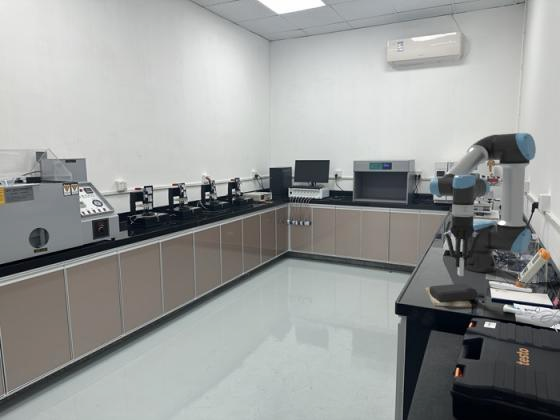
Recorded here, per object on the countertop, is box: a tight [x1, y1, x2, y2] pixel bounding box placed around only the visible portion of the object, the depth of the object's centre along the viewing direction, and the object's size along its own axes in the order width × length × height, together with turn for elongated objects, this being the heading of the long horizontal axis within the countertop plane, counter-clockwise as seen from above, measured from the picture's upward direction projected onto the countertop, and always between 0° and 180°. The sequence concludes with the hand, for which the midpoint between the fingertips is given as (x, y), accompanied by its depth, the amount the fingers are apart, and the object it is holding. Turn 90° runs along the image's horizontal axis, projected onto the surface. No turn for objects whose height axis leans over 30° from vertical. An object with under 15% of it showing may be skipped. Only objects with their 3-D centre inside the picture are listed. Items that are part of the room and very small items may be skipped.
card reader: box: [429, 283, 478, 302], centre depth 150 cm, size 9×4×15 cm
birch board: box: [425, 286, 472, 308], centre depth 153 cm, size 13×18×1 cm
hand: (460, 274), depth 151 cm, fingers closed
